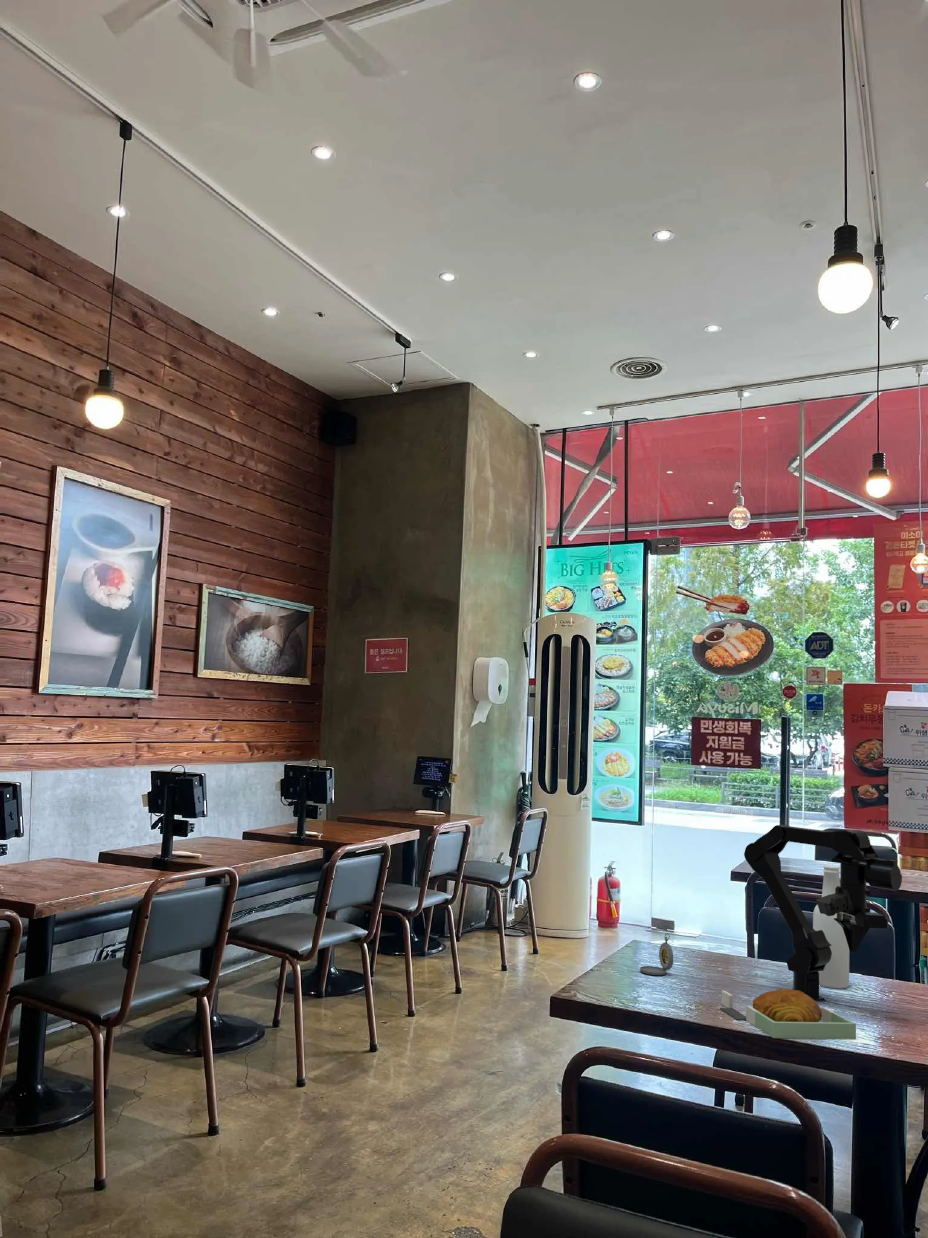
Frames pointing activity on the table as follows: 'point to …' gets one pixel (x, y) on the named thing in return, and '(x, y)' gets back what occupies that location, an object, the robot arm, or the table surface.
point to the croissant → (788, 1006)
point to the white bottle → (832, 937)
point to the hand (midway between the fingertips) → (852, 952)
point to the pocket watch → (661, 960)
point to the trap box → (794, 1023)
